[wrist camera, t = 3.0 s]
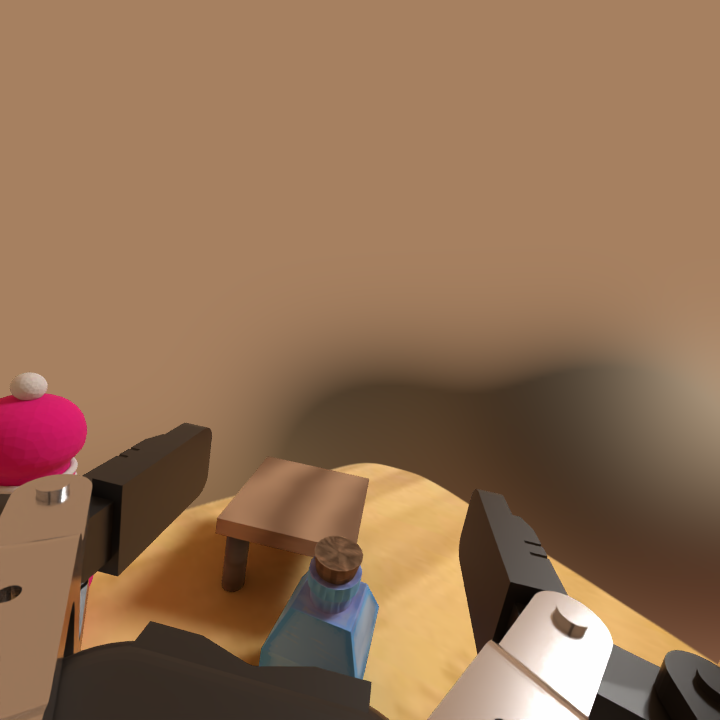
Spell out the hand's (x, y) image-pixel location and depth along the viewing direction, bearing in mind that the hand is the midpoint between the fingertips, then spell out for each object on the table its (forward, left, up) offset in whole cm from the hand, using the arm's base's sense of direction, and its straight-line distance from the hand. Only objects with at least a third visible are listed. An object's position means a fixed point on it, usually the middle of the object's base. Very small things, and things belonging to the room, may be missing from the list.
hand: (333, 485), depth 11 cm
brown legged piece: (+5, -23, -23) cm, 33 cm away
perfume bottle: (0, -11, -23) cm, 26 cm away
